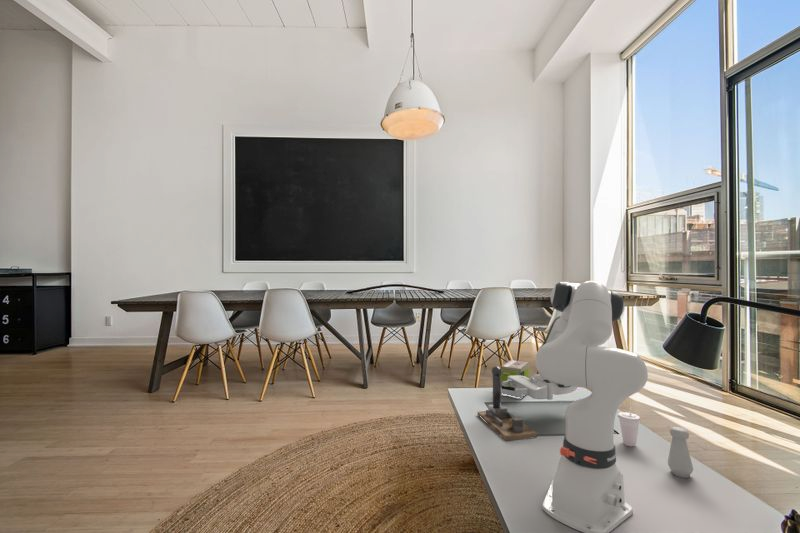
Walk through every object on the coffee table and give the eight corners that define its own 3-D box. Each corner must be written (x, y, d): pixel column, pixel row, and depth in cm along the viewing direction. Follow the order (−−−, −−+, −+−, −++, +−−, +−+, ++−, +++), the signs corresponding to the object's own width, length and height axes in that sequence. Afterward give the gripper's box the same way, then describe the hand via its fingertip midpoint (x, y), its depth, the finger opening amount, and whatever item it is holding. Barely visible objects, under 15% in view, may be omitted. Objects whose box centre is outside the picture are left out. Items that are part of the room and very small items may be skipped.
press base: (477, 415, 145) (477, 401, 145) (504, 412, 148) (503, 398, 148) (506, 440, 122) (506, 423, 123) (536, 437, 125) (536, 420, 125)
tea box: (510, 388, 181) (510, 359, 181) (531, 391, 175) (530, 361, 175) (500, 396, 168) (500, 365, 169) (521, 400, 163) (521, 368, 163)
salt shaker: (694, 473, 102) (693, 428, 102) (692, 482, 97) (691, 434, 98) (669, 466, 106) (667, 422, 106) (666, 474, 101) (665, 428, 102)
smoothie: (644, 449, 116) (643, 406, 117) (623, 447, 117) (622, 405, 118) (635, 440, 122) (634, 399, 123) (615, 438, 124) (614, 398, 124)
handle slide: (488, 412, 143) (487, 365, 144) (499, 411, 144) (499, 364, 145) (495, 418, 137) (494, 369, 138) (507, 417, 138) (506, 368, 139)
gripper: (524, 370, 156) (496, 372, 153) (554, 384, 136) (522, 387, 133) (525, 385, 156) (496, 387, 153) (555, 401, 136) (523, 404, 133)
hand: (509, 387), depth 143 cm, fingers open, 8 cm apart
